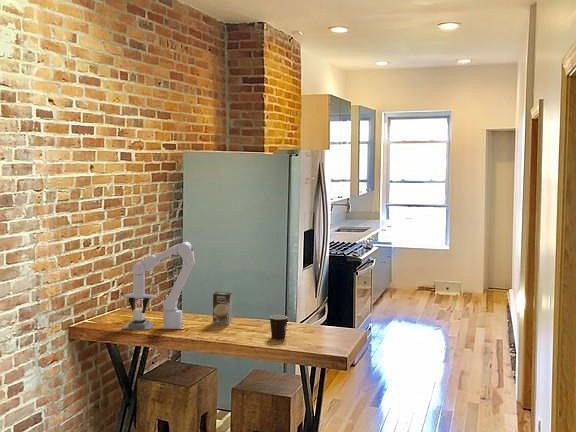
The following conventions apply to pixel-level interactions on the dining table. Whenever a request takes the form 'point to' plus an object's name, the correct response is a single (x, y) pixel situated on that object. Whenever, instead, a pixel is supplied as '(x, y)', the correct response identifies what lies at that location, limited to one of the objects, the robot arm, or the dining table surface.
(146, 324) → the slot holder
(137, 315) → the steel block
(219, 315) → the coffee box
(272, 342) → the dining table surface
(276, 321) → the coffee mug
